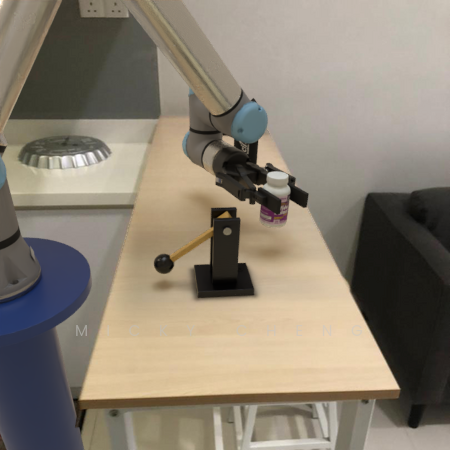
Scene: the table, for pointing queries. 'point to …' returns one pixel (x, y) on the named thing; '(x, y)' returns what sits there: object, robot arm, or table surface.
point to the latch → (182, 250)
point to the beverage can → (248, 149)
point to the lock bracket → (223, 260)
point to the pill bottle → (281, 190)
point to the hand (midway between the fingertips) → (292, 203)
